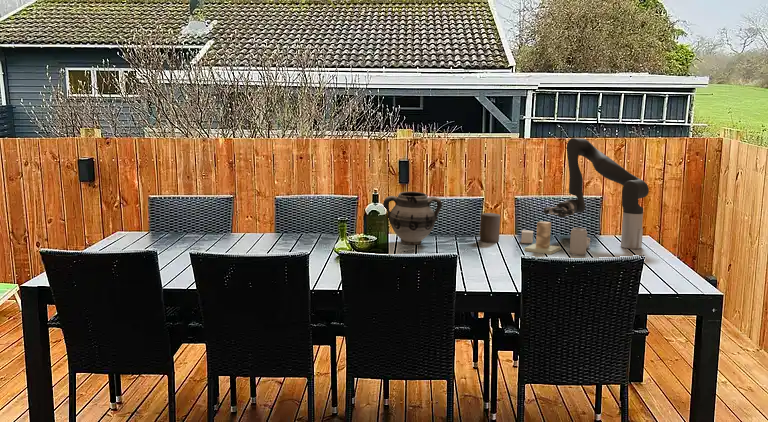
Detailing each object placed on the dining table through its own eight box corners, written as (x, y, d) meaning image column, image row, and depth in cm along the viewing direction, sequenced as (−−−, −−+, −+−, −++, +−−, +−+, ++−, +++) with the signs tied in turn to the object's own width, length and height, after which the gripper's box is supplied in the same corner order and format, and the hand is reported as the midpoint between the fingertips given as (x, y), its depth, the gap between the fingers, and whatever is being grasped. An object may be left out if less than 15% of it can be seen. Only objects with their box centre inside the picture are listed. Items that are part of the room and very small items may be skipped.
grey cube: (532, 241, 350) (533, 230, 349) (532, 243, 345) (532, 232, 344) (521, 240, 351) (522, 230, 351) (521, 242, 346) (521, 231, 345)
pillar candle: (478, 241, 345) (479, 212, 343) (481, 238, 355) (482, 209, 352) (497, 243, 343) (499, 214, 340) (500, 240, 352) (501, 211, 350)
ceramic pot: (440, 239, 350) (442, 190, 346) (441, 248, 327) (442, 196, 323) (384, 237, 351) (385, 189, 348) (380, 246, 329) (381, 195, 325)
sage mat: (560, 249, 330) (560, 246, 330) (550, 254, 319) (551, 251, 319) (534, 246, 337) (534, 243, 337) (524, 250, 326) (524, 247, 326)
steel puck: (577, 246, 338) (578, 236, 338) (589, 248, 336) (591, 238, 336) (575, 247, 333) (576, 237, 332) (588, 249, 331) (589, 239, 330)
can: (584, 252, 325) (585, 227, 323) (587, 255, 318) (589, 230, 316) (568, 251, 326) (569, 226, 324) (570, 255, 318) (572, 229, 317)
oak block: (549, 247, 329) (551, 222, 327) (545, 248, 324) (547, 223, 323) (539, 245, 331) (541, 221, 329) (535, 247, 327) (537, 222, 325)
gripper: (551, 201, 356) (540, 204, 343) (578, 203, 348) (568, 206, 335) (551, 215, 357) (539, 219, 344) (578, 217, 349) (567, 221, 336)
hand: (553, 212), depth 339 cm, fingers open, 8 cm apart
